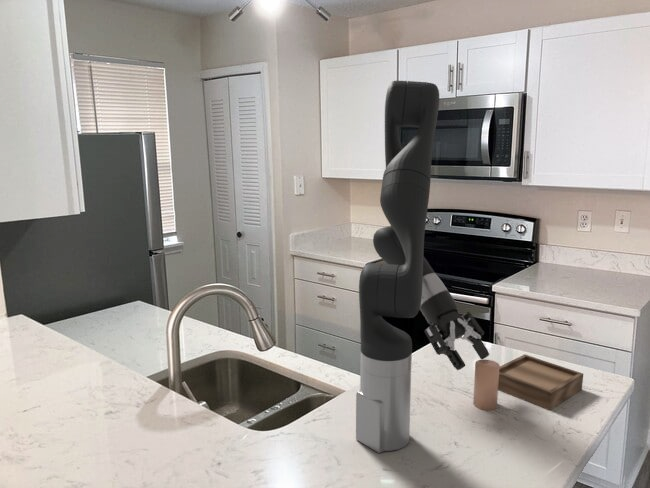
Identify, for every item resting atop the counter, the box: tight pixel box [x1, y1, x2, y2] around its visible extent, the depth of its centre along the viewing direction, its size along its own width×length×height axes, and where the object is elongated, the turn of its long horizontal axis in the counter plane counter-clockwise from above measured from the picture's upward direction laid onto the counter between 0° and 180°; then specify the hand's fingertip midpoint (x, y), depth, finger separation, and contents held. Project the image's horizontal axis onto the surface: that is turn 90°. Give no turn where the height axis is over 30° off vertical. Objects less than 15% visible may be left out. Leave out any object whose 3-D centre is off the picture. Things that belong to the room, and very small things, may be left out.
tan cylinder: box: [472, 359, 501, 411], centre depth 111 cm, size 5×5×9 cm
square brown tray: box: [498, 354, 584, 411], centre depth 118 cm, size 14×14×4 cm
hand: (474, 362), depth 113 cm, fingers open, 8 cm apart
